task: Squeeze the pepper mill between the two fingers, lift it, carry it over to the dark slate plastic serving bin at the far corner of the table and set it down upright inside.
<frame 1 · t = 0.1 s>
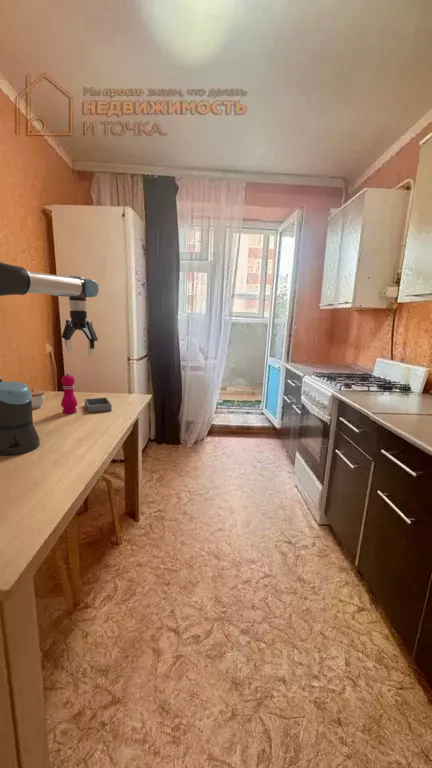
hand: (80, 354, 168), 28 cm above the table, fingers open, 13 cm apart
pepper mill: (69, 412, 167), on the table
lidded jar: (33, 407, 174), on the table
serving bin: (97, 408, 176), on the table
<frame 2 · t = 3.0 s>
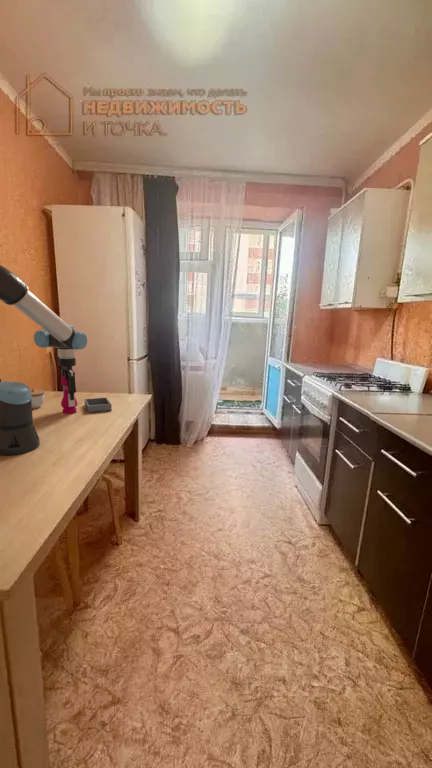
hand: (69, 404, 166), 4 cm above the table, fingers closed on pepper mill, 7 cm apart
pepper mill: (69, 412, 167), on the table, touching gripper
everything else where it was.
when the fingers open (6 cm above the table, at t = 9.1 s): pepper mill drops 1 cm, resting on serving bin.
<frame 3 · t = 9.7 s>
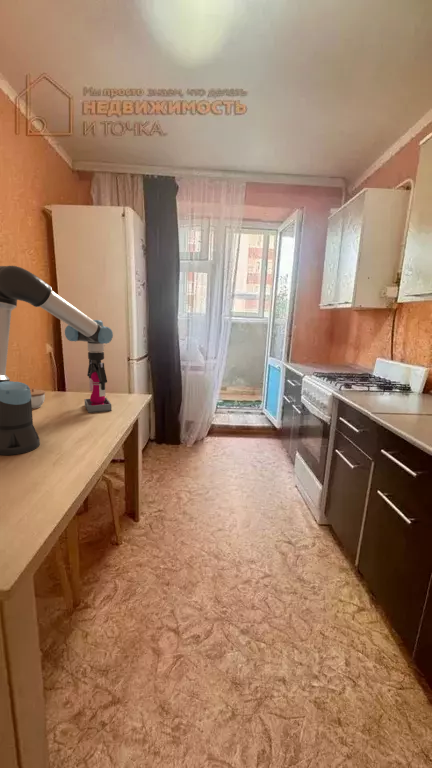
hand: (97, 393, 174), 8 cm above the table, fingers open, 13 cm apart
pepper mill: (97, 407, 176), resting on serving bin
everything else where it was.
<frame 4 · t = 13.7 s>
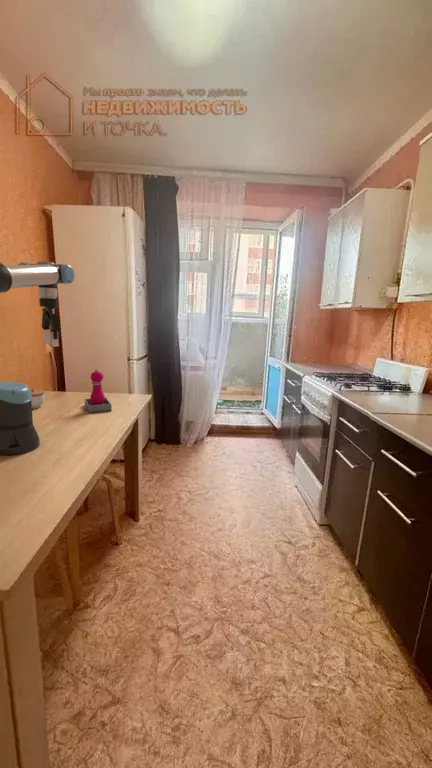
hand: (51, 344, 160), 33 cm above the table, fingers open, 13 cm apart
nothing on the table moved.
at the end: pepper mill 0.1 cm from the serving bin (horizontally); pepper mill resting on serving bin; pepper mill tilted 0° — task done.
